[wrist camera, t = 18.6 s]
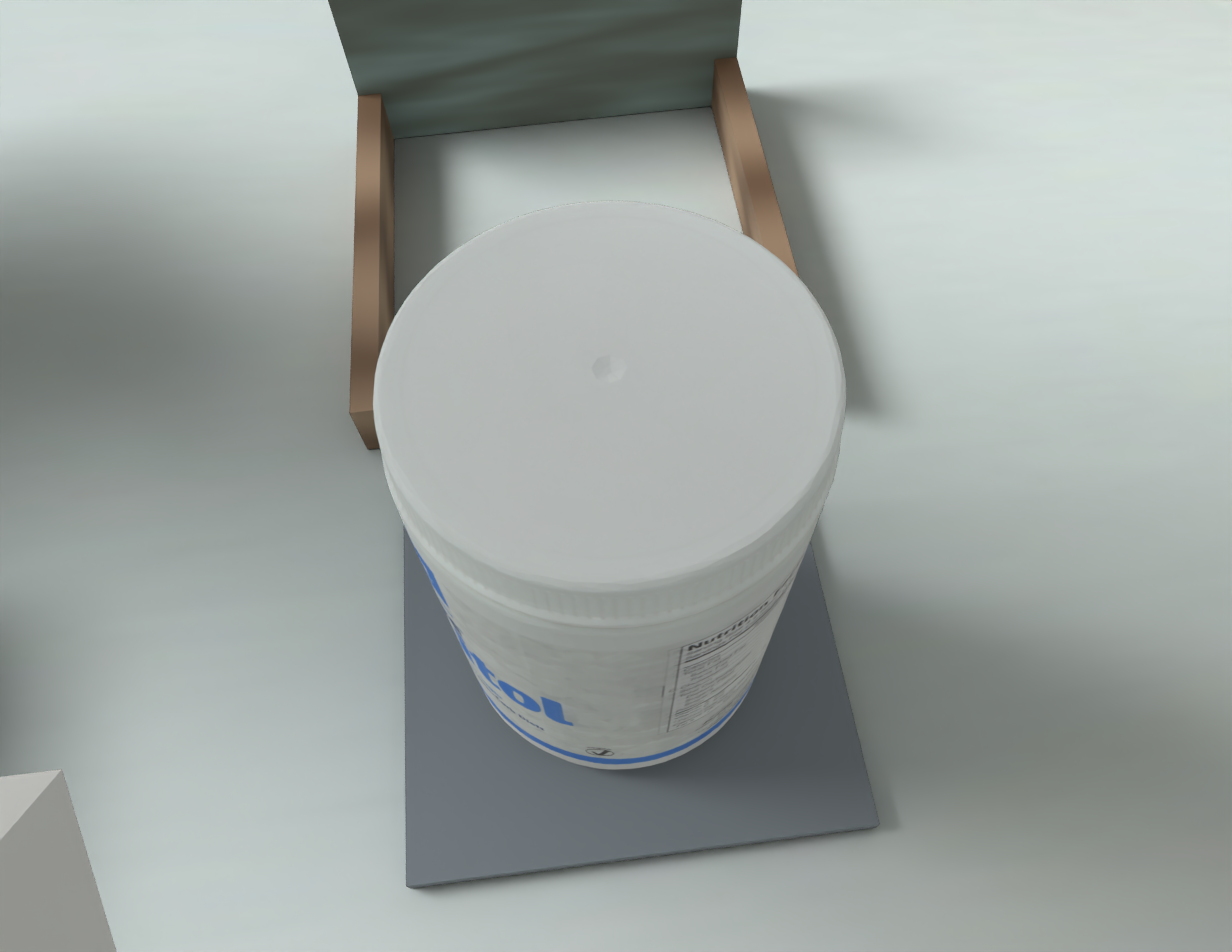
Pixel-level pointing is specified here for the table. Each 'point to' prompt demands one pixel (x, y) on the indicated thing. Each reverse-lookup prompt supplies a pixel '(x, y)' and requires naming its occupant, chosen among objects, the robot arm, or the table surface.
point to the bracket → (528, 106)
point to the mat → (623, 798)
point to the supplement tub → (611, 466)
